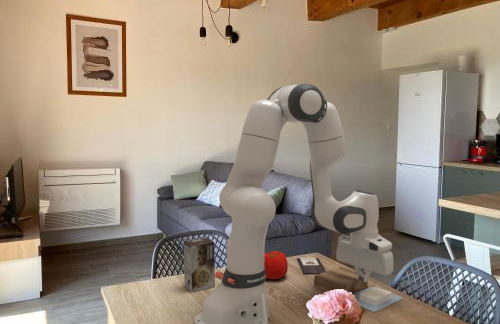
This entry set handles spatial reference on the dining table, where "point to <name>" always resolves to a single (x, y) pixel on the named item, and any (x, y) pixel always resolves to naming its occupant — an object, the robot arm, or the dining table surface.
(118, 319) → the dining table surface
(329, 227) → the robot arm
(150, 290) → the dining table surface
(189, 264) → the coffee box
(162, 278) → the dining table surface
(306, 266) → the chocolate bar
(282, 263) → the tomato
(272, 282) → the dining table surface
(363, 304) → the mat
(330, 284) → the brown wooden box
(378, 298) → the cream slab
